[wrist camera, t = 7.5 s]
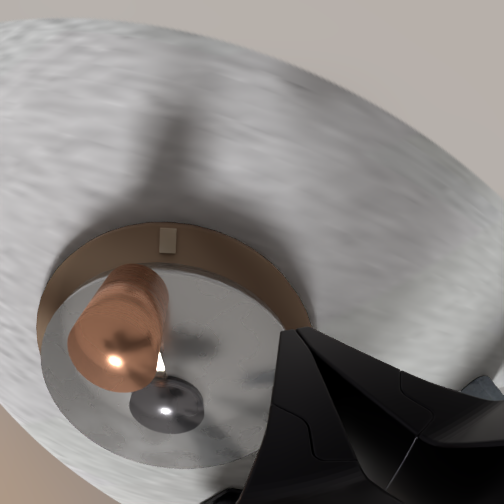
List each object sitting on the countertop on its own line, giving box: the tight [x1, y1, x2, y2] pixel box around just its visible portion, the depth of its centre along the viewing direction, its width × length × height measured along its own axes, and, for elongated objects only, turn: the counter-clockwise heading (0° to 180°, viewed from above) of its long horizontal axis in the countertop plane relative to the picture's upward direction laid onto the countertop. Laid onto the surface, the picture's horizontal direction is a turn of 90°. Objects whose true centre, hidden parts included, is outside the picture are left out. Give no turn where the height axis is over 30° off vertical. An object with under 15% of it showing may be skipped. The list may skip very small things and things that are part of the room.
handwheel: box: [41, 262, 286, 469], centre depth 13 cm, size 16×15×7 cm
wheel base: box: [36, 222, 312, 355], centre depth 17 cm, size 18×18×1 cm
